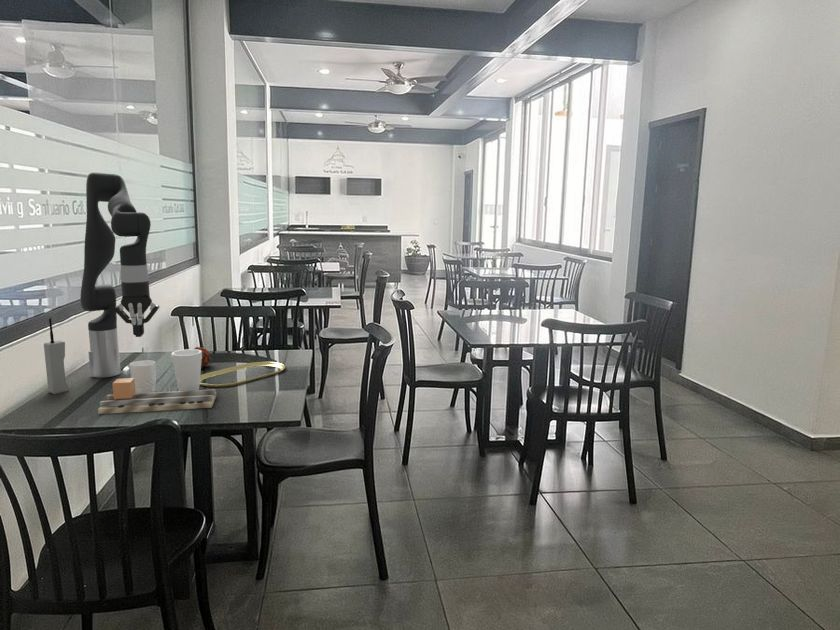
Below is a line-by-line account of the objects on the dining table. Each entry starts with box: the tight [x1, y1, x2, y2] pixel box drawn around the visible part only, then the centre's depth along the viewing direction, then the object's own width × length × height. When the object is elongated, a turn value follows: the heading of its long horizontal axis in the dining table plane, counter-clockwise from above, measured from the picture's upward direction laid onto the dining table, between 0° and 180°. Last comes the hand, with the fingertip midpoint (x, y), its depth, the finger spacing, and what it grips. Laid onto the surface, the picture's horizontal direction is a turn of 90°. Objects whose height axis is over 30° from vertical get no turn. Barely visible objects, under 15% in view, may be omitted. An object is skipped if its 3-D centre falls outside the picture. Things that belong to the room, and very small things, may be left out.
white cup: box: [128, 359, 157, 393], centre depth 199 cm, size 8×8×10 cm
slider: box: [112, 377, 136, 400], centre depth 184 cm, size 5×5×7 cm
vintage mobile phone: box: [43, 317, 71, 395], centre depth 198 cm, size 4×5×25 cm
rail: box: [97, 388, 217, 415], centre depth 186 cm, size 32×12×3 cm, turn 101°
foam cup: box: [170, 348, 202, 391], centre depth 201 cm, size 10×9×13 cm
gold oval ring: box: [199, 361, 286, 388], centre depth 221 cm, size 19×35×2 cm, turn 145°
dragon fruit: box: [194, 346, 212, 369], centre depth 232 cm, size 8×8×12 cm
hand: (138, 336), depth 183 cm, fingers closed
